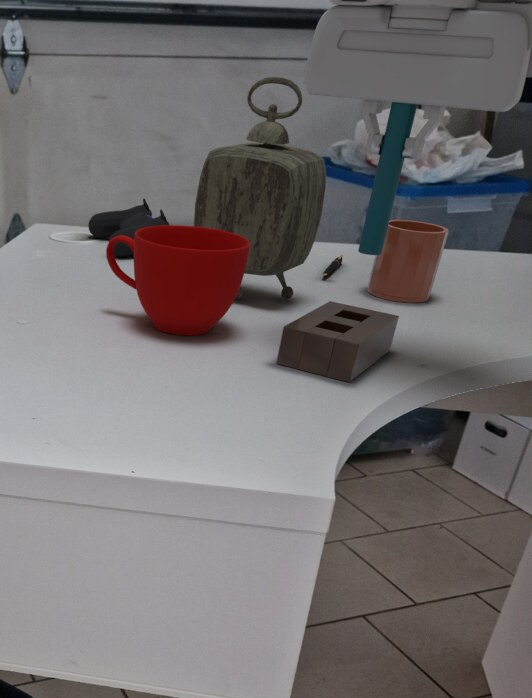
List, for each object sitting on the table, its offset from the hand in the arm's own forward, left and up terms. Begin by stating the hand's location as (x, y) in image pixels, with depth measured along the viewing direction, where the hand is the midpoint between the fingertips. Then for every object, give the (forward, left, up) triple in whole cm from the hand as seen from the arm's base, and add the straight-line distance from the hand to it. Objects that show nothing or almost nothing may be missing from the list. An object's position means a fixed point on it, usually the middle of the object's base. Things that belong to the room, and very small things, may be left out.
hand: (391, 156), depth 83 cm
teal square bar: (0, 0, -9) cm, 9 cm away
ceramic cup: (+20, +6, -20) cm, 29 cm away
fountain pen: (+15, -37, -20) cm, 45 cm away
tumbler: (+3, -31, -20) cm, 37 cm away
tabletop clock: (+19, -13, -20) cm, 31 cm away
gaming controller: (+45, -26, -20) cm, 56 cm away
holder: (0, +3, -20) cm, 20 cm away
